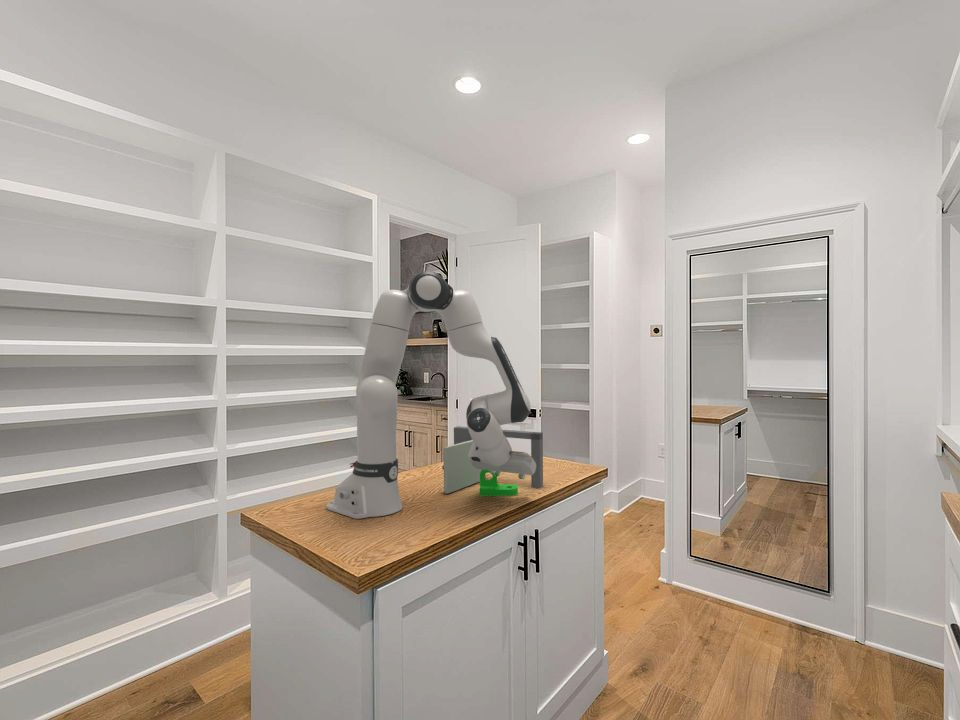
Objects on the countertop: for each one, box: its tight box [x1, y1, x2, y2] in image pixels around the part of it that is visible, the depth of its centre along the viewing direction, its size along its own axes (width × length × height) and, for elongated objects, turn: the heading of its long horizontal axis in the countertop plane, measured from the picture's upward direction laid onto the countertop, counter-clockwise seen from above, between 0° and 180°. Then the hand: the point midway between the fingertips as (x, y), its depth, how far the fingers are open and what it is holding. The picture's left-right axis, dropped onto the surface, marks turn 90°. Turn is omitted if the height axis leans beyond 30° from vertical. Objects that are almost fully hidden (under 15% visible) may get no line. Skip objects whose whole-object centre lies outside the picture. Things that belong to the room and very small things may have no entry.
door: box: [442, 440, 481, 495], centre depth 159 cm, size 18×3×14 cm, turn 143°
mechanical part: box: [478, 470, 519, 497], centre depth 153 cm, size 12×6×8 cm, turn 88°
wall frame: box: [453, 426, 544, 489], centre depth 166 cm, size 32×3×18 cm, turn 63°
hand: (510, 475), depth 151 cm, fingers open, 7 cm apart
